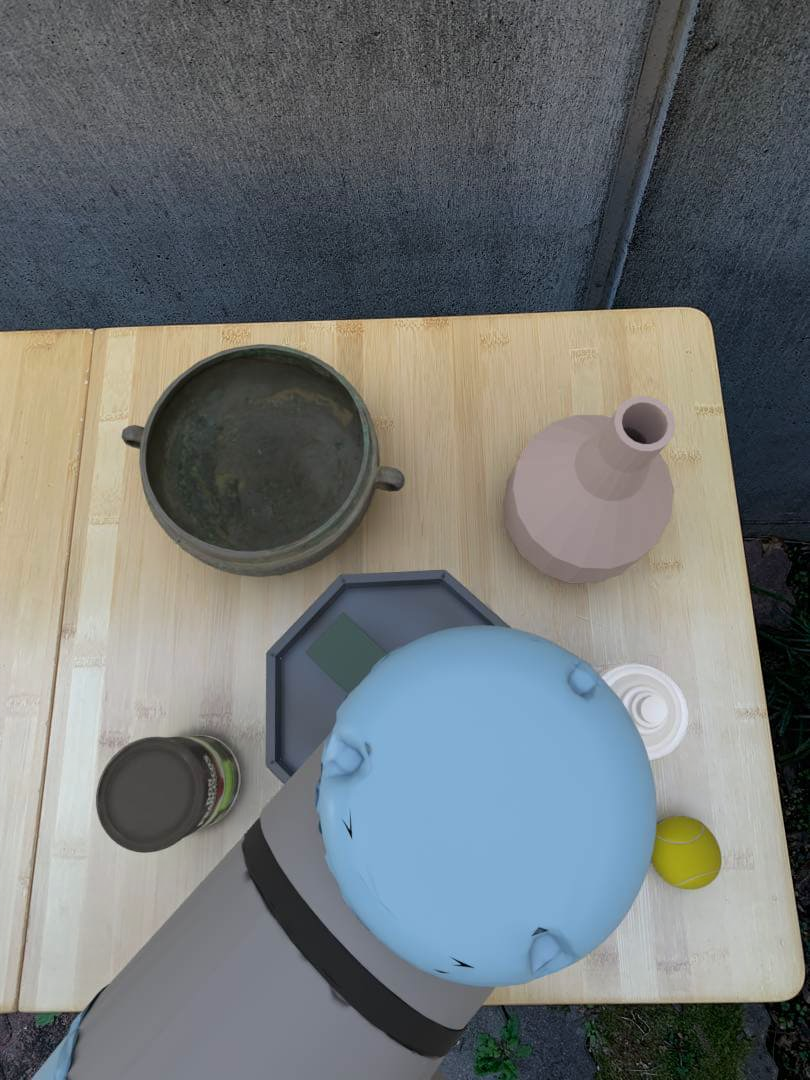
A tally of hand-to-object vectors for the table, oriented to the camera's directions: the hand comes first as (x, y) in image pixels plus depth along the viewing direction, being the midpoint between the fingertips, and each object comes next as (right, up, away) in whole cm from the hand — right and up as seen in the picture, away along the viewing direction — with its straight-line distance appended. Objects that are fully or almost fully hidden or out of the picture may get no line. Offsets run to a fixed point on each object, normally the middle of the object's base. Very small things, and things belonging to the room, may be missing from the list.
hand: (434, 740), depth 51 cm
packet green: (-6, +5, +5) cm, 9 cm away
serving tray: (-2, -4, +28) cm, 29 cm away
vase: (+18, +17, +34) cm, 42 cm away
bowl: (-18, +21, +35) cm, 45 cm away
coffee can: (-26, -12, +27) cm, 39 cm away
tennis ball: (+27, -19, +24) cm, 41 cm away
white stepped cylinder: (+20, -5, +28) cm, 34 cm away
